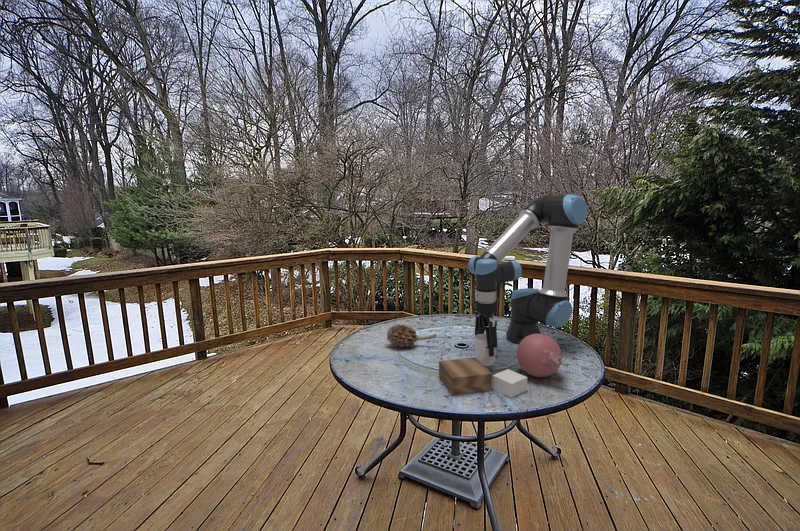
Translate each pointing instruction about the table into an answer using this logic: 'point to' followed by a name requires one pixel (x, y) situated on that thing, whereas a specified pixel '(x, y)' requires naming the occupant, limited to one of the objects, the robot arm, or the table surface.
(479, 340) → the white cup
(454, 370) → the walnut block
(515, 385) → the pale block
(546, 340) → the balloon
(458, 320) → the table surface
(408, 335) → the pine cone
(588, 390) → the table surface
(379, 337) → the table surface
